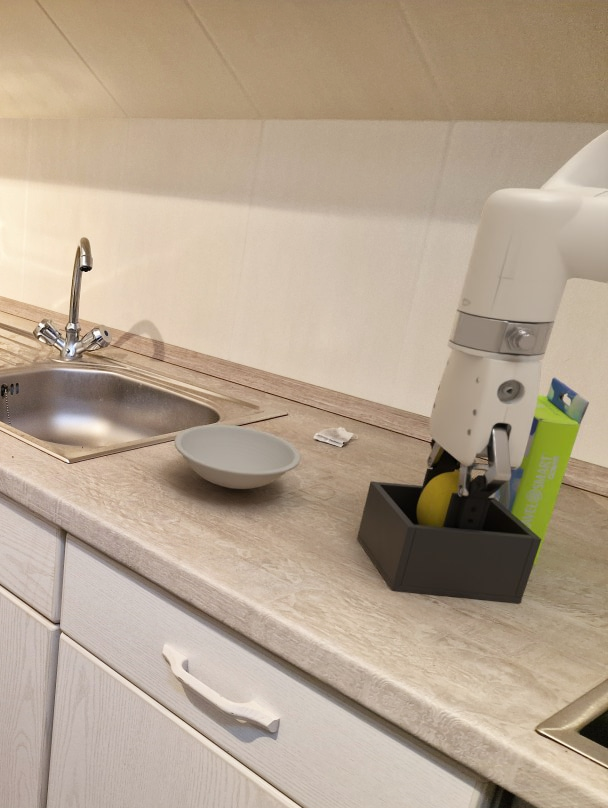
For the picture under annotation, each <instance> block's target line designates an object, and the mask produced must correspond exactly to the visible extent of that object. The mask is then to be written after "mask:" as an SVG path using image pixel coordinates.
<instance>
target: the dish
mask: <svg viewBox="0 0 608 808" xmlns="http://www.w3.org/2000/svg"><path fill="white" fill-rule="evenodd" d="M174 446H175V449H176V450H177V452H178V453H179V454H180V455H181V456H182V457H183V458H184V460H185V461H186V463H187V464H188V466H189V467H190V468H191V469H192V470H193V472H195V473H196V474H197V475H199V477H201V478H203V479H204V480H206V481H208V482H210V483H212V484H215V485H217V486H220V487H224V488H228V489H238V490H247V489H256V488H261V487H263V486H267V485H269V484H271V483H272V482H274V481H276V480H278V479H280V478H281V477H282V476H284V475H285V474H286V473H288V472H290V471H292V470H294V469H295V468H297V467H298V465H299V464H300V462H301V460H302V459H301V453H300V452H299V450H298V448H297V447H296V446H295V445H294V444H292V443H290V442H289V441H287V440H286V439H284V438H282V437H280V436H277V435H275V434H272V433H270V432H267V431H263V430H260V429H256V428H253V427H248V426H247V427H246V426H241V425H232V424H231V425H230V424H205V425H197V426H193V427H188V428H186V429H184V430H182V431H180V432H179V433H178V434H177V435H176V436H175V438H174Z"/></svg>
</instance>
